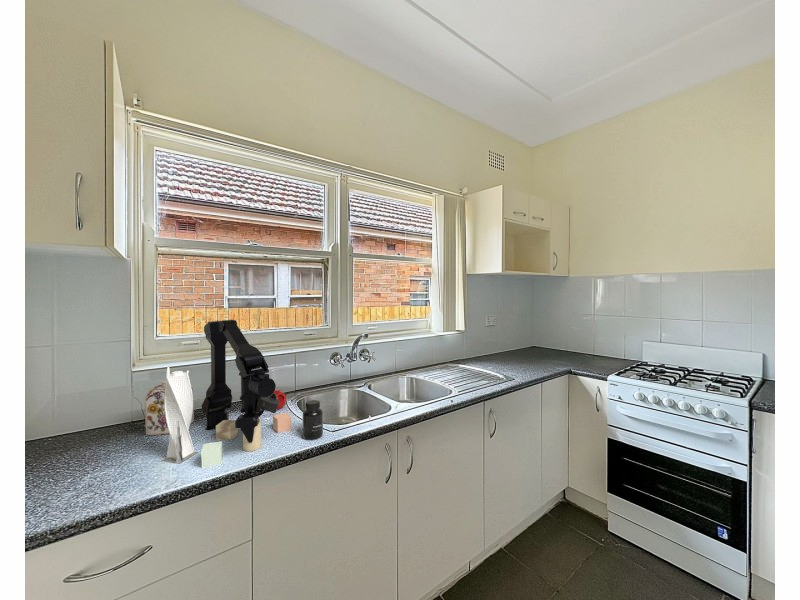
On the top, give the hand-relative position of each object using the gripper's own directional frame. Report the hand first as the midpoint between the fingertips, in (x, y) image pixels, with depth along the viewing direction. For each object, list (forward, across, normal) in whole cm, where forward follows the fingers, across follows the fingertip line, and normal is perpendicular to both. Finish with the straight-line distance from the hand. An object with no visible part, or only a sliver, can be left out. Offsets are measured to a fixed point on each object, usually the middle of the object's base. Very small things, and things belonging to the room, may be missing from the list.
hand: (252, 438), depth 113 cm
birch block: (+3, +11, +10) cm, 15 cm away
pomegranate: (+3, +37, -2) cm, 37 cm away
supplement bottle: (+3, +4, -19) cm, 20 cm away
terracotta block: (+3, +13, -8) cm, 16 cm away
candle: (+3, 0, 0) cm, 3 cm away
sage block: (+3, -7, +10) cm, 13 cm away
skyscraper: (+4, 0, +21) cm, 21 cm away
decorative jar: (+3, +24, +32) cm, 40 cm away
